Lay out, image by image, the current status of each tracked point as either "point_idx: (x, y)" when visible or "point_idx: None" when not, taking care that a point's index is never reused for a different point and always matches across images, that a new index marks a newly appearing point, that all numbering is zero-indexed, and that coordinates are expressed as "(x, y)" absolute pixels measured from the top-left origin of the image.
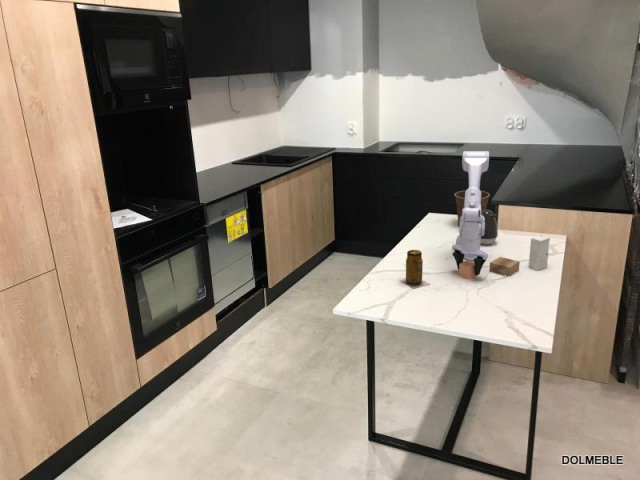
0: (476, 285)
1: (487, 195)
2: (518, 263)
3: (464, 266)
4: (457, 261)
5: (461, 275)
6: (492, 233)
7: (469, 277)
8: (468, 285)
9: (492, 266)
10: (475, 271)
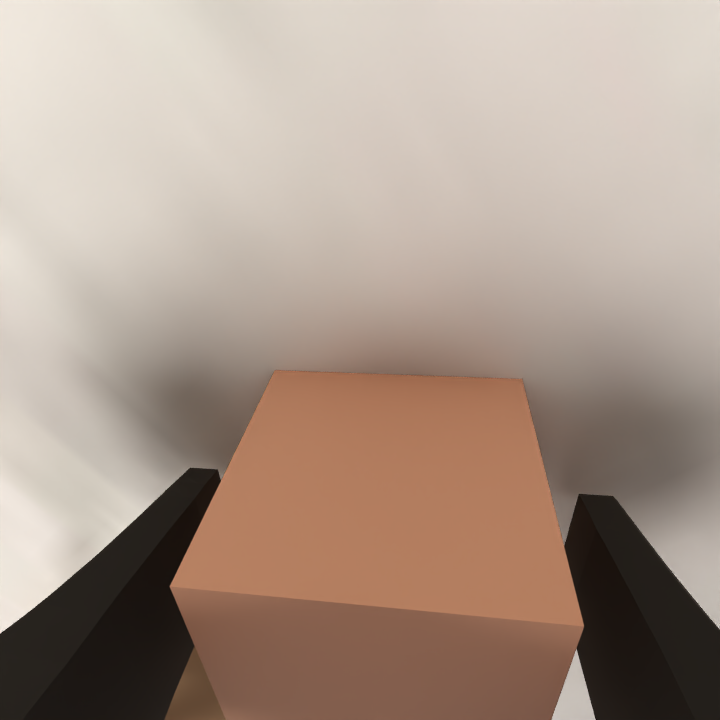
0: (5, 229)
1: None
2: None
3: (386, 568)
4: (709, 698)
5: (461, 387)
6: None
7: (278, 388)
8: (64, 108)
9: None
10: (153, 527)
